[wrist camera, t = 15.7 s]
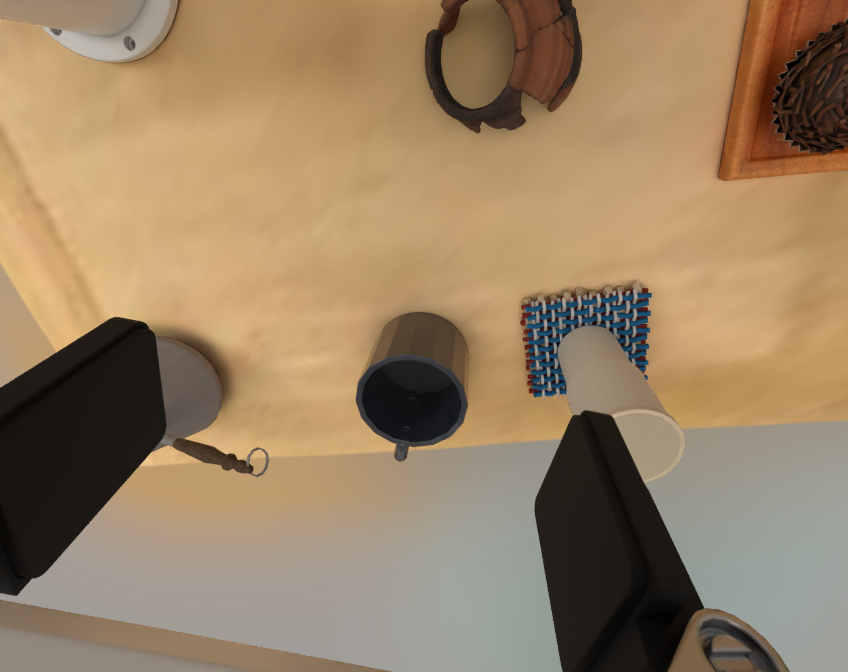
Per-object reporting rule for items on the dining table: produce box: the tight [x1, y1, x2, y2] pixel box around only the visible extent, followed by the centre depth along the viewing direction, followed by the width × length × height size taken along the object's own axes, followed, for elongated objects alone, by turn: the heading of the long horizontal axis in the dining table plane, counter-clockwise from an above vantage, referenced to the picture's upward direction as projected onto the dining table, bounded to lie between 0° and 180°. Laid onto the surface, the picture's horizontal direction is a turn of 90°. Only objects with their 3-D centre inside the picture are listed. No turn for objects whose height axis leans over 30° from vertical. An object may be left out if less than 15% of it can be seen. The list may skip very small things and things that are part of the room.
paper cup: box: [558, 325, 685, 483], centre depth 33 cm, size 6×6×13 cm
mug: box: [356, 312, 469, 461], centre depth 40 cm, size 12×9×8 cm
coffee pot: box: [152, 336, 269, 477], centre depth 40 cm, size 21×12×15 cm, turn 98°
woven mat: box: [520, 283, 652, 399], centre depth 40 cm, size 10×11×2 cm
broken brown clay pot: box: [425, 0, 582, 133], centre depth 28 cm, size 12×10×8 cm
